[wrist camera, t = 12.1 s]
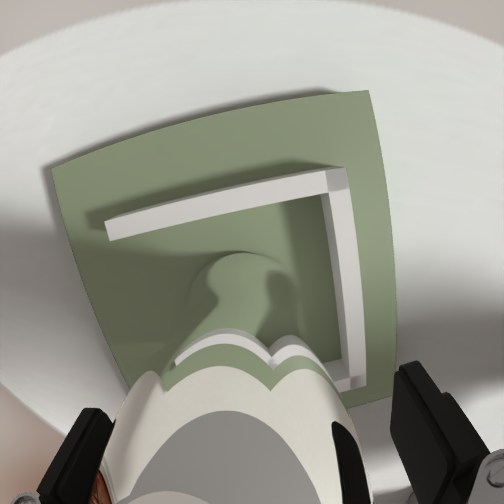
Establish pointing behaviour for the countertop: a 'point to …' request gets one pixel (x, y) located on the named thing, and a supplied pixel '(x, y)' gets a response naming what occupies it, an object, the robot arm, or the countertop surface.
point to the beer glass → (234, 406)
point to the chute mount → (243, 228)
